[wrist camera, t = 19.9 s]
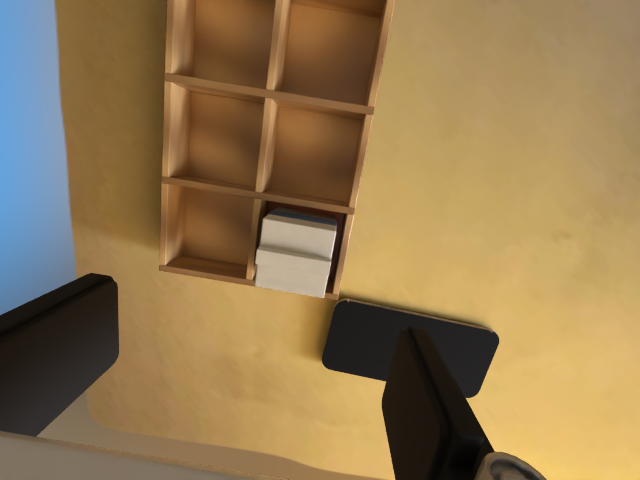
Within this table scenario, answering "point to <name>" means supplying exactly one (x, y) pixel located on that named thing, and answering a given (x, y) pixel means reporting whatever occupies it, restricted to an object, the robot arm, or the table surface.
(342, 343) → the smartphone
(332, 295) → the compartment tray
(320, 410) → the table surface
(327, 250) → the milk carton
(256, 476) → the robot arm
